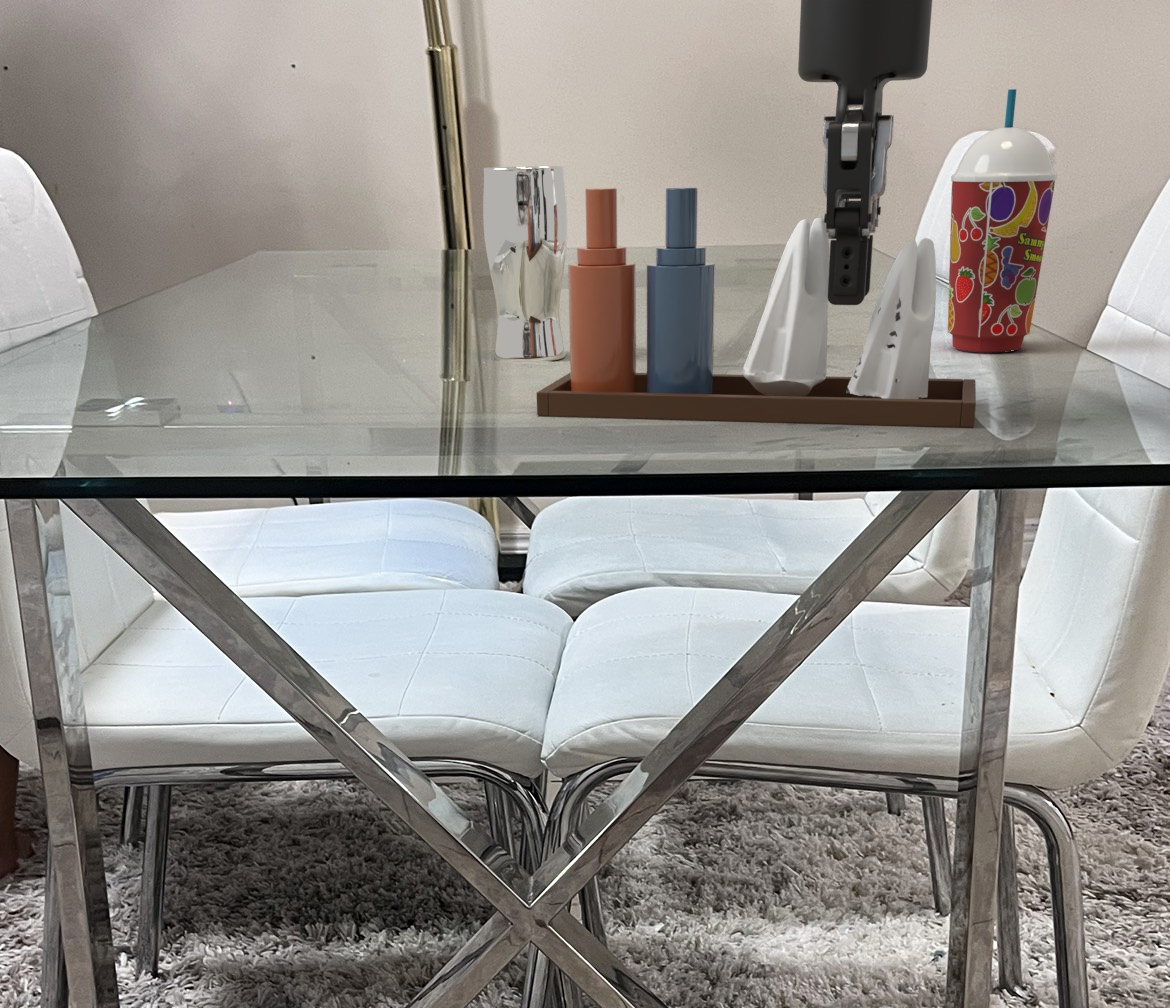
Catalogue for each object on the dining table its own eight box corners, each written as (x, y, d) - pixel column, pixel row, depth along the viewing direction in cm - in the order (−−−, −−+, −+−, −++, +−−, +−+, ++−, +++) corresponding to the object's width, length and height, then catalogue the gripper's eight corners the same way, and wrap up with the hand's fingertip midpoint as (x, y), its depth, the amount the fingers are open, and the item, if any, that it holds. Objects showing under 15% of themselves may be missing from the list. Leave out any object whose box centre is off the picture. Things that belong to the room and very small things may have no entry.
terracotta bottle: (642, 400, 96) (642, 186, 90) (628, 411, 92) (627, 189, 87) (580, 398, 97) (576, 187, 91) (563, 410, 93) (558, 190, 88)
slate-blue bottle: (717, 402, 95) (722, 186, 89) (706, 413, 91) (710, 188, 85) (653, 400, 96) (654, 186, 90) (640, 412, 92) (640, 189, 86)
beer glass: (552, 364, 116) (547, 167, 110) (476, 362, 118) (466, 168, 112) (582, 353, 122) (578, 165, 116) (508, 350, 124) (501, 166, 118)
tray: (972, 411, 93) (975, 379, 92) (972, 437, 85) (975, 402, 84) (572, 401, 100) (571, 371, 99) (537, 425, 92) (536, 392, 91)
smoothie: (1035, 356, 115) (1065, 86, 107) (932, 354, 118) (953, 89, 110) (1039, 343, 123) (1068, 89, 114) (942, 341, 125) (963, 92, 117)
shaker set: (741, 406, 90) (746, 220, 85) (742, 394, 93) (747, 216, 89) (932, 407, 88) (948, 218, 84) (926, 395, 92) (941, 214, 87)
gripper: (929, -27, 74) (904, 314, 81) (936, -4, 86) (913, 289, 94) (787, -20, 76) (775, 312, 83) (813, 1, 88) (801, 289, 95)
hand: (848, 298), depth 88 cm, fingers closed on shaker set, 4 cm apart
